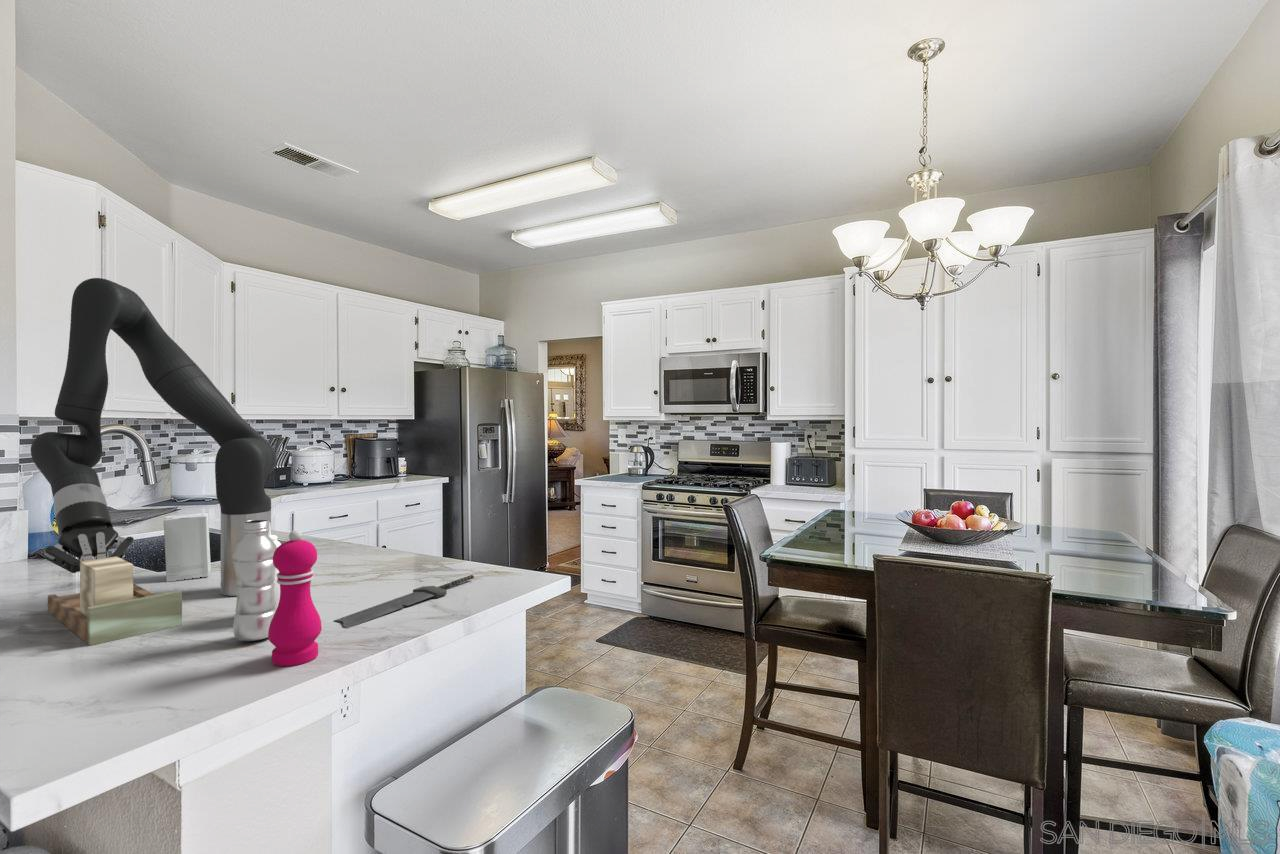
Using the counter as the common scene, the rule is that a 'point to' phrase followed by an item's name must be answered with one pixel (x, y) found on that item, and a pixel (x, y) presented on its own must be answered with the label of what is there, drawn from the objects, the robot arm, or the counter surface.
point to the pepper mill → (294, 604)
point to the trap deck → (119, 615)
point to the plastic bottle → (254, 582)
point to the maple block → (104, 582)
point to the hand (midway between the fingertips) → (99, 585)
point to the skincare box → (187, 546)
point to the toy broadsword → (398, 603)
